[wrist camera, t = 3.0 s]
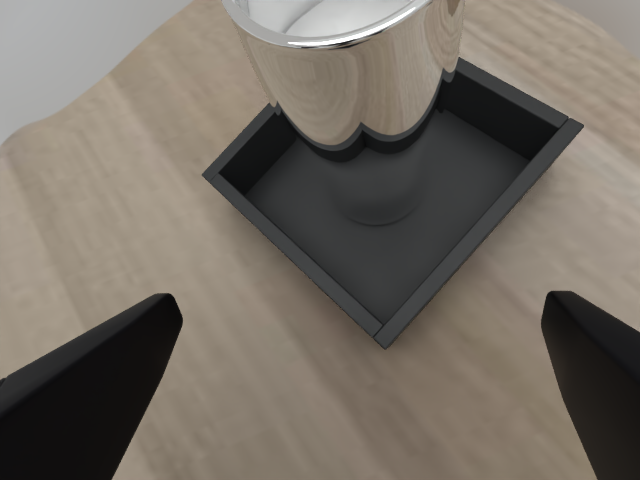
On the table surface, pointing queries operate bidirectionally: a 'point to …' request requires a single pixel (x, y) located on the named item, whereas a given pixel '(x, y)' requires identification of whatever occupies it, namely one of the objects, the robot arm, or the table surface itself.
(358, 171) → the metal tumbler
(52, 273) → the table surface
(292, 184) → the bin
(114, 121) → the table surface
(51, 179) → the table surface
